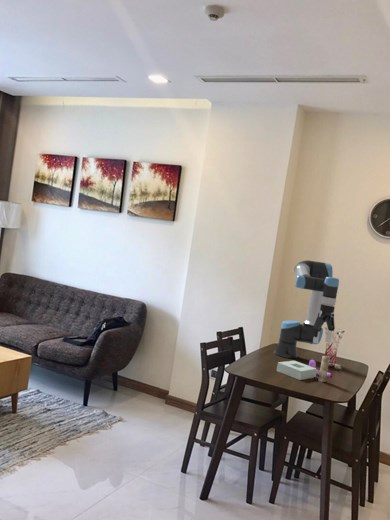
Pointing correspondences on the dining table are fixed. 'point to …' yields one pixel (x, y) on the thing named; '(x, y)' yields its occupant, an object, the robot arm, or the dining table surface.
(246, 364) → the dining table surface
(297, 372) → the socket block
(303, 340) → the robot arm
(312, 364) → the bracket
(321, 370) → the peg
